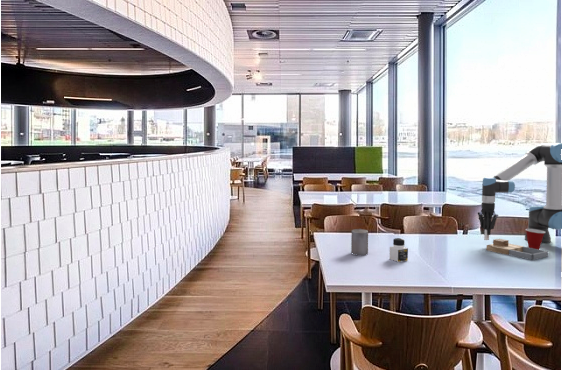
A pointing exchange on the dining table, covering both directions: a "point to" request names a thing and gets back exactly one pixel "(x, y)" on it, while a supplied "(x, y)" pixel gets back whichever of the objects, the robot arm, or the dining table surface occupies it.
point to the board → (504, 248)
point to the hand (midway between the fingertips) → (486, 239)
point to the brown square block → (500, 242)
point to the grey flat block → (534, 254)
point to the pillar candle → (359, 242)
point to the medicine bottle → (398, 250)
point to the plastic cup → (534, 238)
